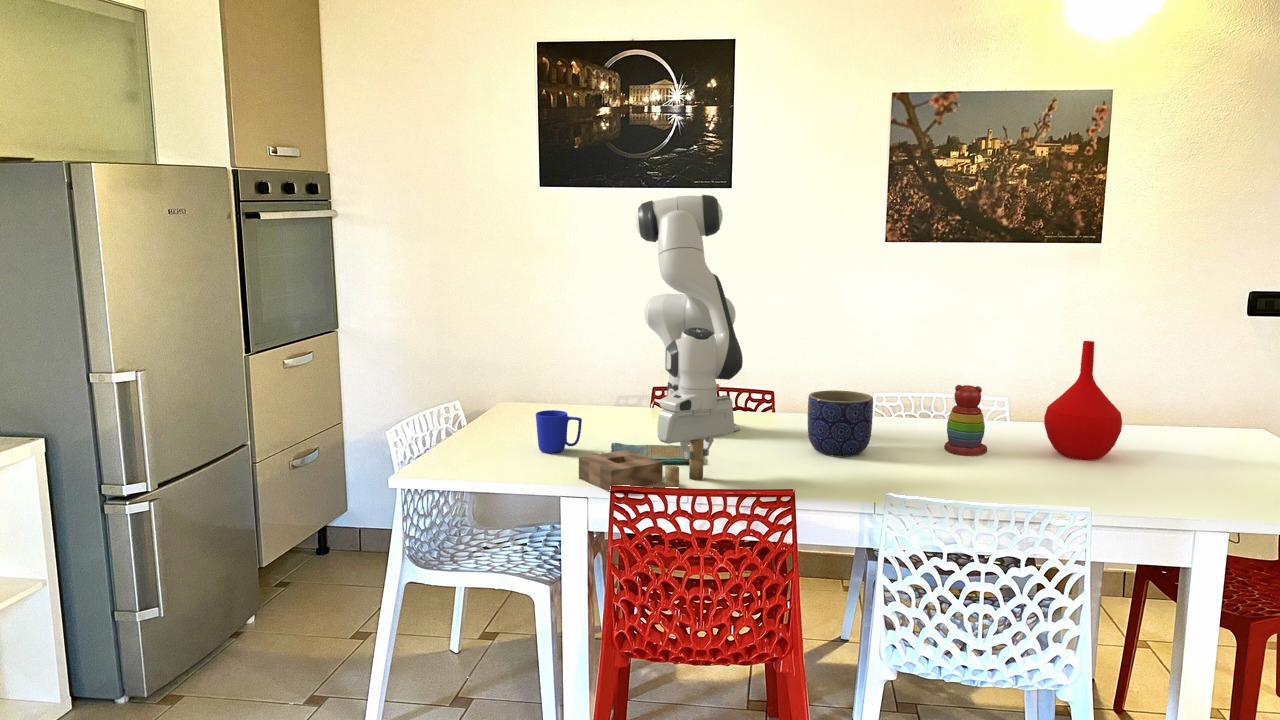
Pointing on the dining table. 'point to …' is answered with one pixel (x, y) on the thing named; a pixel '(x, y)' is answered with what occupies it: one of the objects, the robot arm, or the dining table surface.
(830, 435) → the planter
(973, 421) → the stacking bear
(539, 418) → the mug
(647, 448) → the dish towel
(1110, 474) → the dining table surface
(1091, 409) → the vase
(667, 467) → the short dowel
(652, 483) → the hole block
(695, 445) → the long dowel
